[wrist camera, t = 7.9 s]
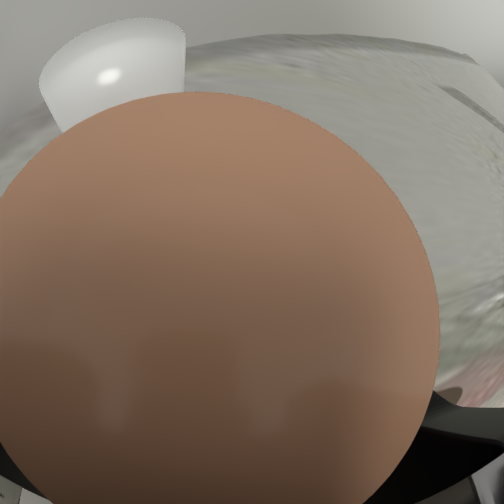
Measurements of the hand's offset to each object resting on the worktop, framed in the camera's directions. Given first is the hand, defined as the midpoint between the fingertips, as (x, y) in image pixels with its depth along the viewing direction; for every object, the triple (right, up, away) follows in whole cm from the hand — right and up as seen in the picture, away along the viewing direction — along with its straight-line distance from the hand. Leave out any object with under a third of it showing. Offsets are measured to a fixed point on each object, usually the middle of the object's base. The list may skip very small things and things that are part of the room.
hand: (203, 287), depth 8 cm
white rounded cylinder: (-6, +6, +8) cm, 12 cm away
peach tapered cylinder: (-1, -3, +6) cm, 7 cm away
